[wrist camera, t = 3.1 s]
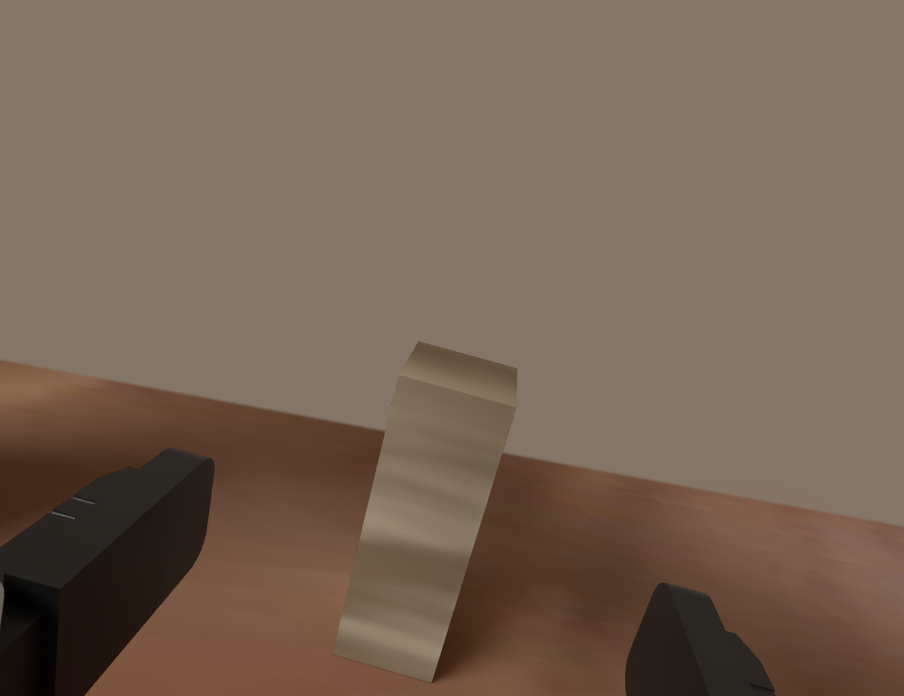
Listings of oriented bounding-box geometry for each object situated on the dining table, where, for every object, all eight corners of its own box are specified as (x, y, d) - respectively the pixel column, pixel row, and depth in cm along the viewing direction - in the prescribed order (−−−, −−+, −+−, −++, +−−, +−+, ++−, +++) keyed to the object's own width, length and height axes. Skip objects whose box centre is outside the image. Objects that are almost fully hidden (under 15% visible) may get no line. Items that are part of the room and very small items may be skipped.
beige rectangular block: (431, 683, 23) (516, 407, 19) (332, 653, 23) (398, 374, 20) (444, 610, 27) (517, 368, 23) (359, 585, 27) (418, 341, 23)
